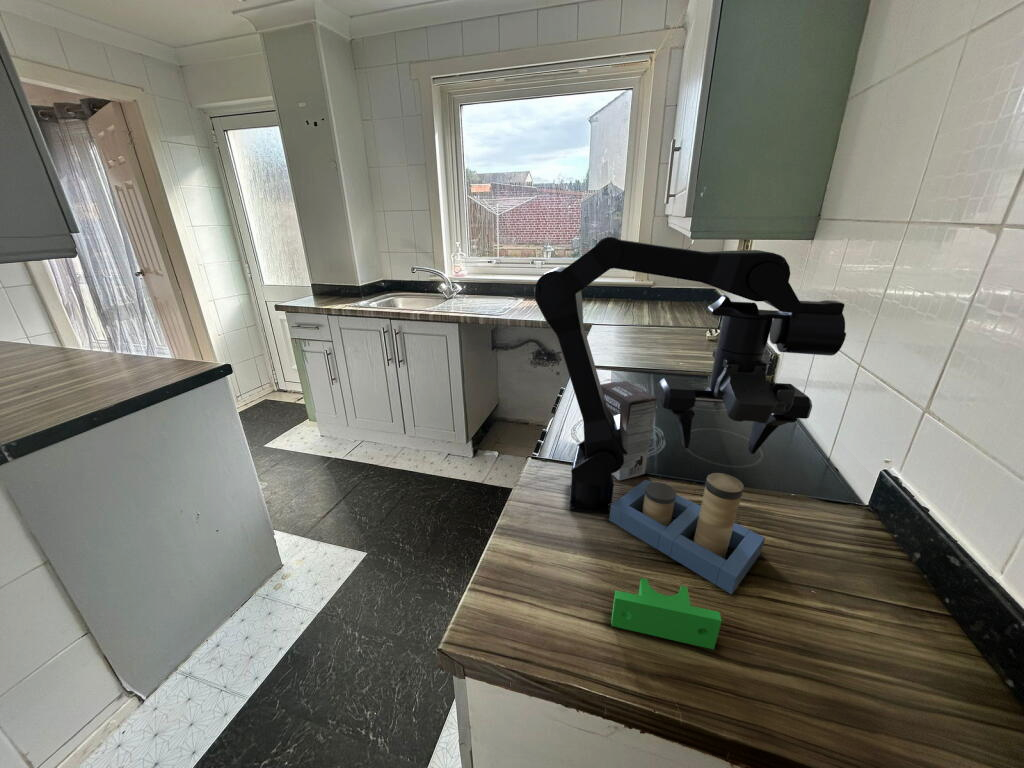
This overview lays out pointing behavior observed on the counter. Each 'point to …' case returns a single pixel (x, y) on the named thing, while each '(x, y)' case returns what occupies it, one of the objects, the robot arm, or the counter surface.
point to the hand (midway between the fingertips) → (718, 449)
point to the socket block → (678, 544)
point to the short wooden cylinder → (659, 502)
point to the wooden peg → (718, 512)
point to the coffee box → (632, 423)
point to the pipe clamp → (666, 616)
